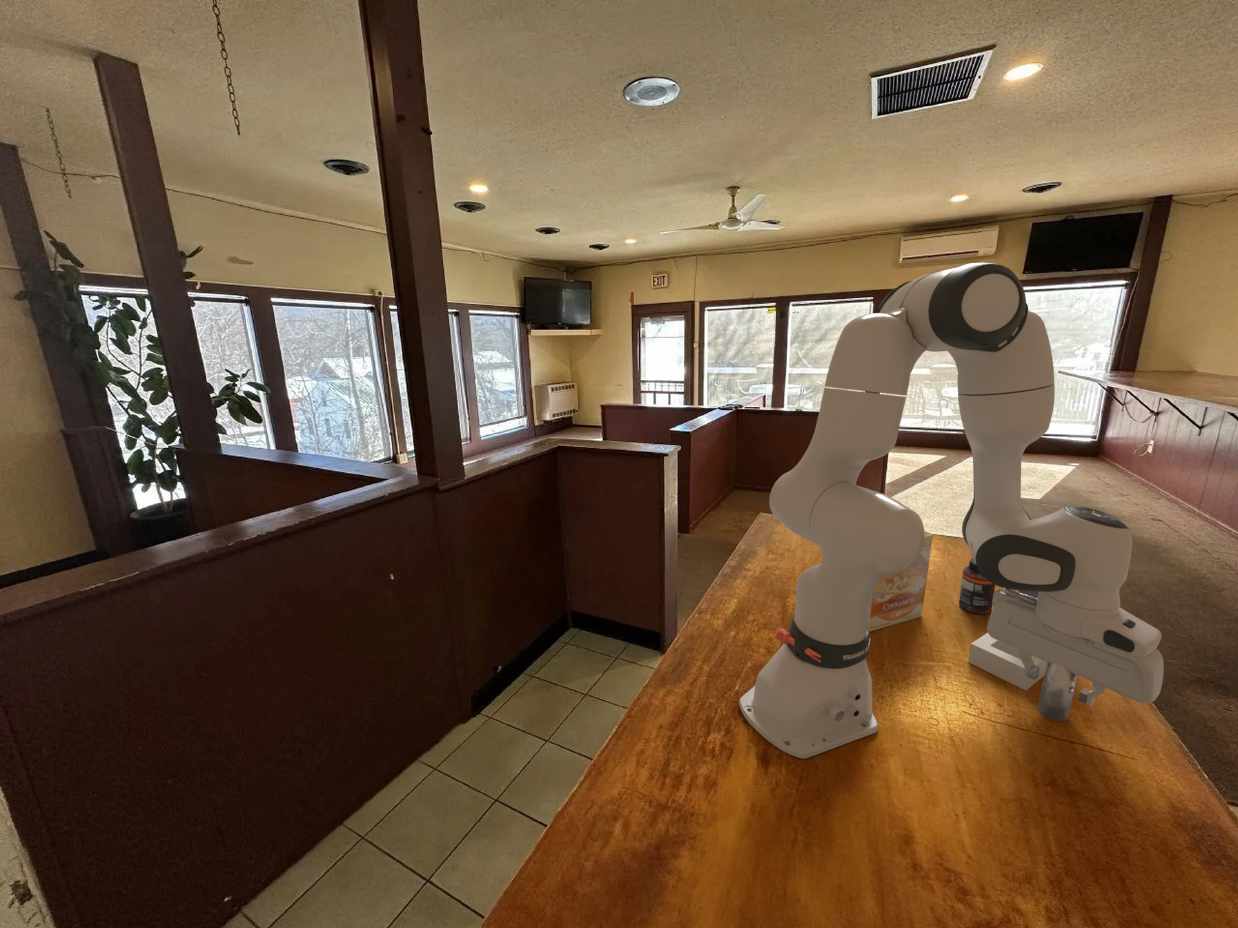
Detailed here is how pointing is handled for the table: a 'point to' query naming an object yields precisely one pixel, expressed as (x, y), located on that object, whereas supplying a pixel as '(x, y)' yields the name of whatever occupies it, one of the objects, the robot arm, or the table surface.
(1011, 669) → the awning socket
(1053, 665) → the peg
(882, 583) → the coffeecake box
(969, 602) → the supplement bottle
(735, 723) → the table surface
